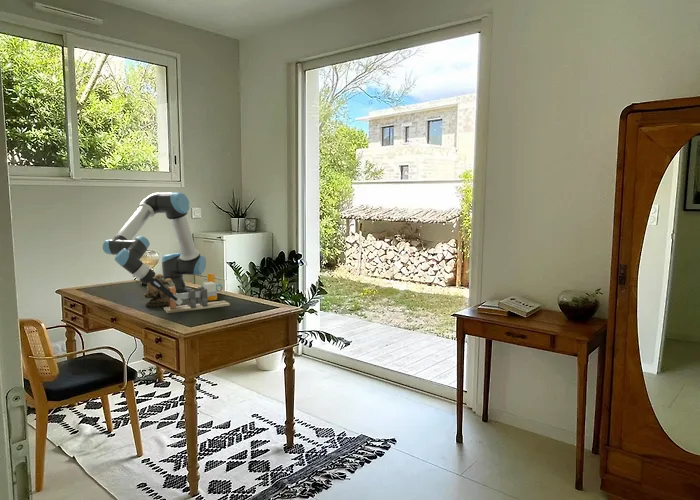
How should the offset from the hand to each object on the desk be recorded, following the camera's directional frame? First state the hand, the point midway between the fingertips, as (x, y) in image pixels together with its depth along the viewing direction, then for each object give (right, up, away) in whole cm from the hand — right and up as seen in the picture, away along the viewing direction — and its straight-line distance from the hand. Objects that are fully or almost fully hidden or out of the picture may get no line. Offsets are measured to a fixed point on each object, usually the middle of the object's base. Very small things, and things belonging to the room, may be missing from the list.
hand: (179, 302), depth 248 cm
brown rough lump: (-14, -3, +11) cm, 19 cm away
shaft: (+6, -1, +4) cm, 7 cm away
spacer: (+13, +6, +8) cm, 16 cm away
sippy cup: (+10, -1, +24) cm, 26 cm away
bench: (+7, -3, +5) cm, 9 cm away
